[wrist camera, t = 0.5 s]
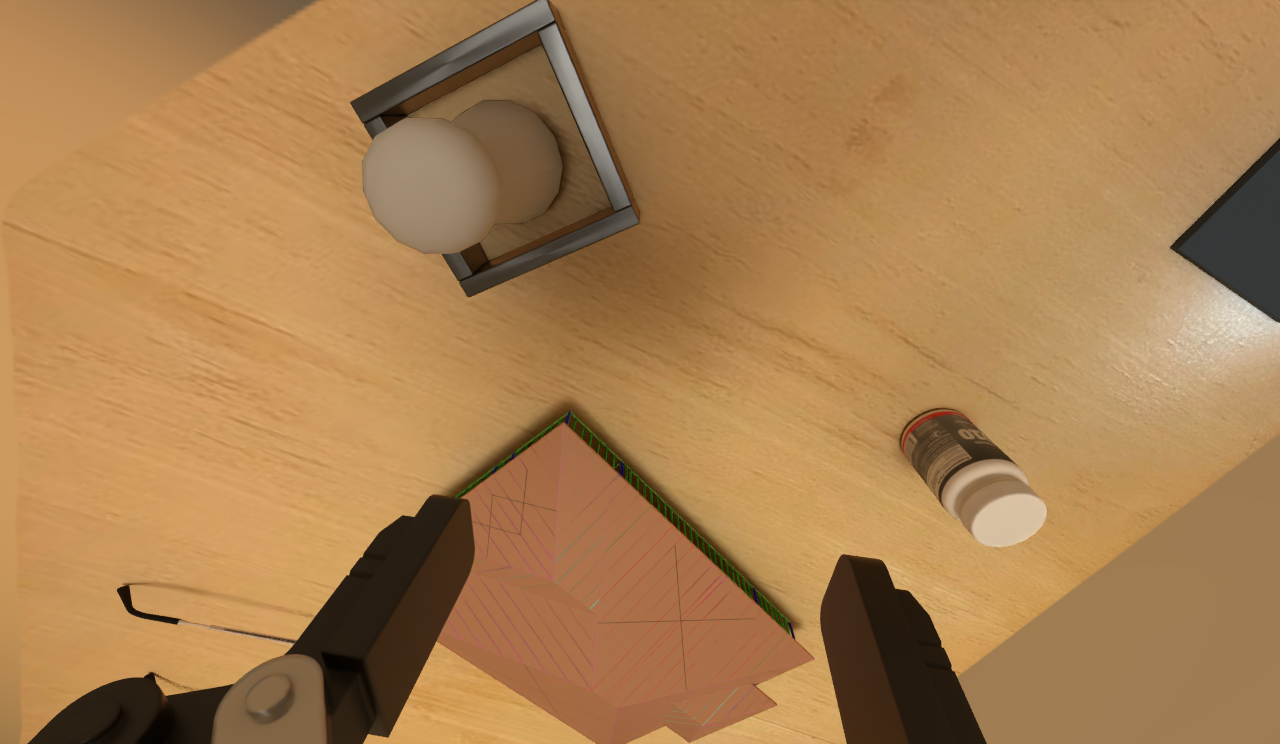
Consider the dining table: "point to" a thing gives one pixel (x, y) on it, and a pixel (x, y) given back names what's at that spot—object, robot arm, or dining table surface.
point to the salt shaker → (461, 175)
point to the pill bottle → (973, 478)
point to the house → (608, 602)
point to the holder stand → (547, 29)
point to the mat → (1243, 236)
